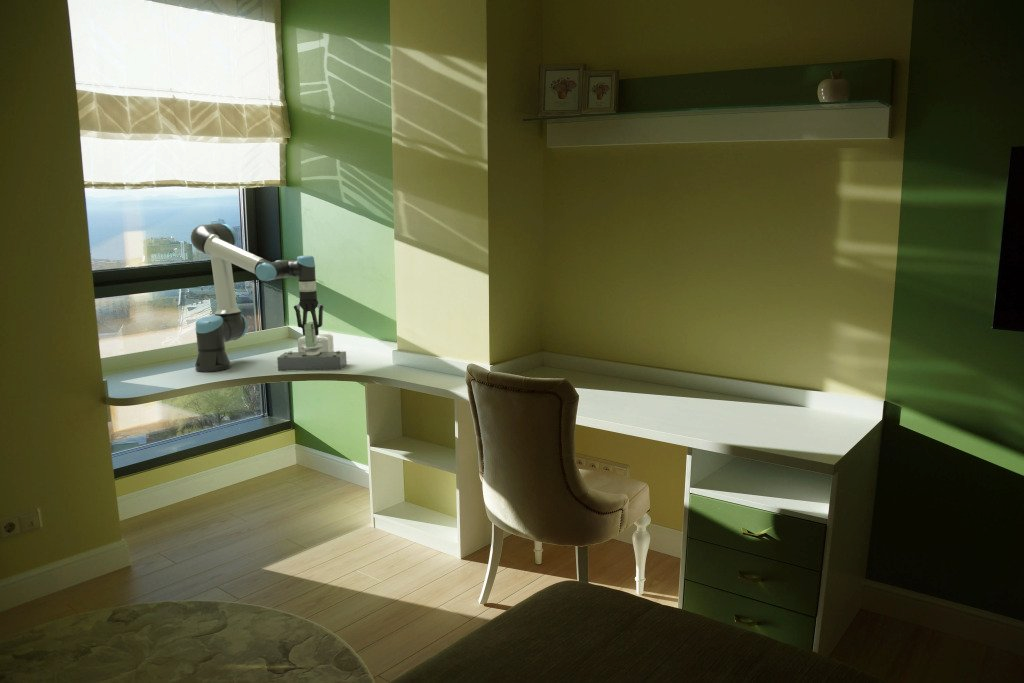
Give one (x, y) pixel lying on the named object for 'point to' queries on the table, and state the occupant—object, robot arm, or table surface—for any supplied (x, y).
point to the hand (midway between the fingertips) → (311, 342)
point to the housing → (312, 361)
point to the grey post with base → (310, 341)
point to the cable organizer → (322, 338)
